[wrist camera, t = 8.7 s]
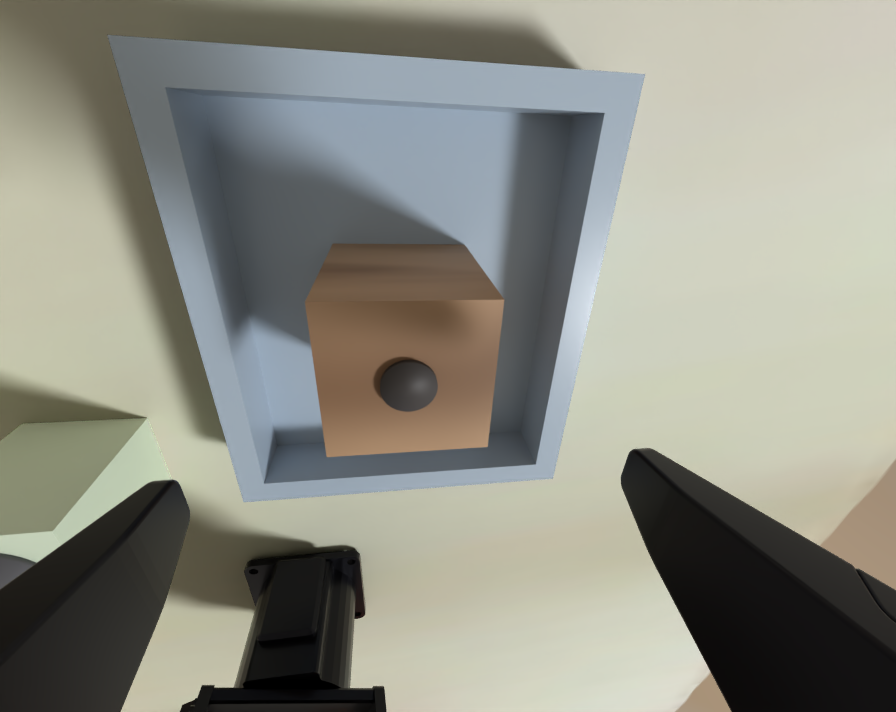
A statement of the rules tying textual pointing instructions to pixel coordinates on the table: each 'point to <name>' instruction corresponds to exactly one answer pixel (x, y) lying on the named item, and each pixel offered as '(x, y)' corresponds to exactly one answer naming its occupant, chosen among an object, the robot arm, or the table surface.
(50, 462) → the sage block
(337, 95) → the tray
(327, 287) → the walnut block
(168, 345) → the table surface
